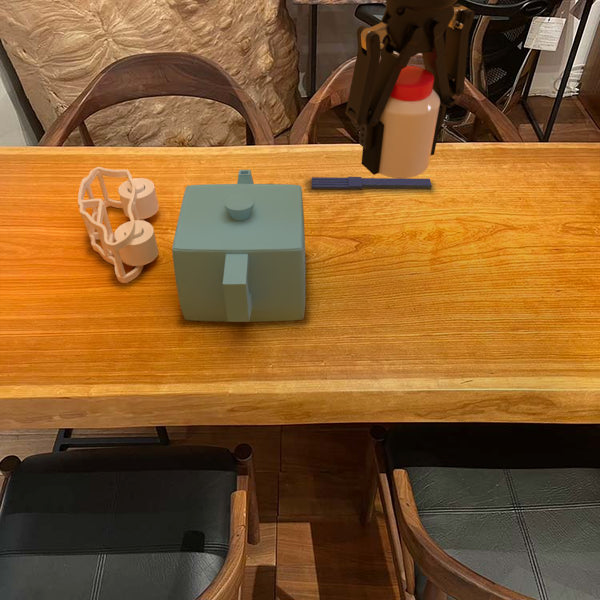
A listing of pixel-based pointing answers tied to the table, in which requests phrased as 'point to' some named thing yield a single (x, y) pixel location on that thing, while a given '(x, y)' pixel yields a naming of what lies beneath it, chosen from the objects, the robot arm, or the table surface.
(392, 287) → the table surface
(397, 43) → the robot arm
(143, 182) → the wheeled car silhouette
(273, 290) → the container
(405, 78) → the pill bottle
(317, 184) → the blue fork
